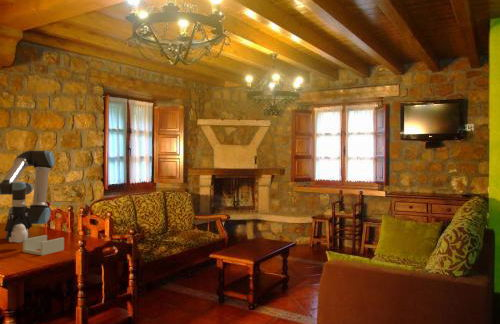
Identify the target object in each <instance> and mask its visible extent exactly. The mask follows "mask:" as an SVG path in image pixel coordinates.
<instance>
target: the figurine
mask: <svg viewBox="0 0 500 324" xmlns="http://www.w3.org/2000/svg"><path fill="white" fill-rule="evenodd" d="M12 232H13V242H14V243H18V244H19V243H23V239H27V230H26V228H25V226H24V225H23V224H22V223H21V224H17V225H15V226H14V228H13V231H12ZM13 242H12V243H13Z"/></svg>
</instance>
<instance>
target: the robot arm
mask: <svg viewBox="0 0 500 324" xmlns="http://www.w3.org/2000/svg"><path fill="white" fill-rule="evenodd" d="M55 163H56V161H55V155H54V153H53V152H52V151H51V150H34V149H32V150H26V151H24V152H22V153H20V154H18V156H16V157H15V159H14V160H13V164H12V166H11V167H10V169H9V170H8V171H7V173H6V175H5V176H4V177H3V179H2V181H1V182H0V195H5V196H7V195H9V196H10V195H11V207H10V208H9V209H8V214H7V221H6V224H5V228H4V231H5V232H6V235H5V237H4V238H5V240H6V241H8V242H9V243H13V232H12V231H13V228H14V226H15V225H17V224H21V223H22V224H23V225H24V226H25V228H26V230H27V239H28V238H30V229H31V228H33V225H45V224H47V223H48V222H49V220H50V218H51V208H50V207H49V205H48V204H47V195H48V185H49V172H50V171H51V170H52V167H54V166H55ZM28 167H33V169H34V170H35V175H34V176H35V177H34V186H33V184H31V183H30V182H25V181H18V180H19V178H20V177H21V174H22V173H23V172H24V170H25V169H27V168H28ZM31 193H33V197H32V198H33V199H32V203H31V204H30V205H29V207H28V205H26V200H27V199H26V198H27V197H26V195H30V194H31Z"/></svg>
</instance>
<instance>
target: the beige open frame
mask: <svg viewBox="0 0 500 324" xmlns="http://www.w3.org/2000/svg"><path fill="white" fill-rule="evenodd" d="M64 250H65V237H58V238H54V239H49V240H48V235H47V234H44V235H39V236H34V237H33V236H32V237H29V238H28V239H23V242H22V253H27V254H32V255H38V256H46V255H49V254H53V253H56V252H62V251H64Z"/></svg>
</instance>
